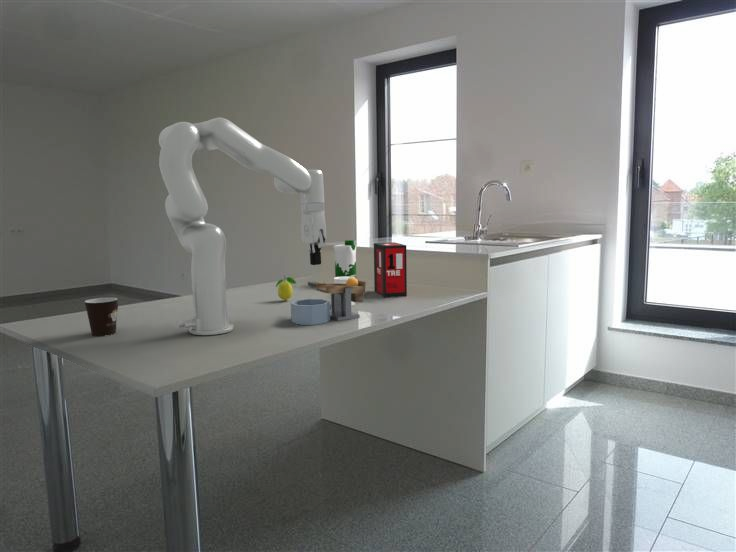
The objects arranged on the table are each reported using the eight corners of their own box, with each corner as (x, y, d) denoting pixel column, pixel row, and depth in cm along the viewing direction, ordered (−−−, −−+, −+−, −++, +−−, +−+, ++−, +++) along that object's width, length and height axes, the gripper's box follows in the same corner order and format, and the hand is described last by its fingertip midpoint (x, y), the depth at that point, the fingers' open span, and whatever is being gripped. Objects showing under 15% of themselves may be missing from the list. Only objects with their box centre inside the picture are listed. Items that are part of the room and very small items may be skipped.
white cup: (353, 307, 198) (352, 279, 197) (331, 307, 200) (331, 279, 198) (358, 303, 206) (357, 276, 204) (337, 302, 207) (336, 276, 206)
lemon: (297, 301, 212) (296, 275, 211) (282, 303, 209) (281, 276, 207) (289, 298, 217) (288, 273, 216) (275, 300, 214) (274, 274, 213)
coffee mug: (99, 338, 158) (96, 303, 157) (81, 335, 163) (78, 301, 162) (135, 330, 168) (132, 297, 167) (117, 327, 173) (115, 295, 171)
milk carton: (350, 287, 245) (349, 241, 242) (332, 286, 248) (331, 241, 246) (359, 284, 253) (358, 239, 250) (341, 283, 256) (340, 239, 254)
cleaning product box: (374, 291, 233) (373, 243, 230) (395, 289, 235) (394, 242, 232) (384, 297, 217) (384, 246, 214) (406, 296, 219) (406, 245, 216)
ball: (348, 289, 181) (351, 277, 181) (342, 287, 184) (345, 275, 184) (359, 291, 183) (361, 279, 183) (353, 289, 186) (355, 277, 186)
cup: (302, 326, 169) (301, 307, 168) (287, 320, 179) (286, 301, 178) (335, 321, 175) (334, 302, 174) (318, 315, 185) (318, 297, 184)
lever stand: (337, 320, 176) (337, 289, 175) (323, 315, 185) (322, 285, 183) (359, 317, 180) (359, 287, 179) (344, 312, 189) (343, 283, 187)
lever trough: (326, 302, 175) (327, 281, 174) (307, 296, 186) (308, 276, 186) (364, 302, 182) (365, 281, 182) (343, 296, 194) (344, 277, 193)
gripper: (292, 208, 186) (295, 263, 188) (312, 209, 173) (315, 267, 176) (313, 207, 190) (315, 261, 192) (334, 208, 177) (336, 265, 180)
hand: (315, 264), depth 184 cm, fingers closed
